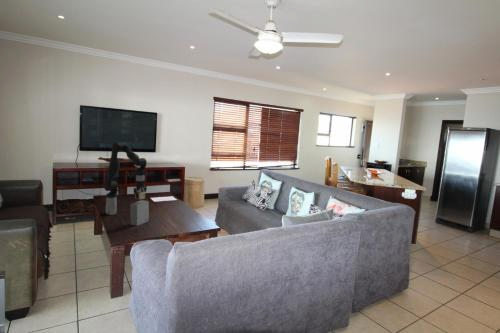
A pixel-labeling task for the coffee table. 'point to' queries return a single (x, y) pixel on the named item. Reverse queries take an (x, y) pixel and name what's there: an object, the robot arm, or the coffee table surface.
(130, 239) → the coffee table surface
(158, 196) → the coffee table surface
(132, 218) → the hard drive box
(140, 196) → the maple cube
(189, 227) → the coffee table surface
